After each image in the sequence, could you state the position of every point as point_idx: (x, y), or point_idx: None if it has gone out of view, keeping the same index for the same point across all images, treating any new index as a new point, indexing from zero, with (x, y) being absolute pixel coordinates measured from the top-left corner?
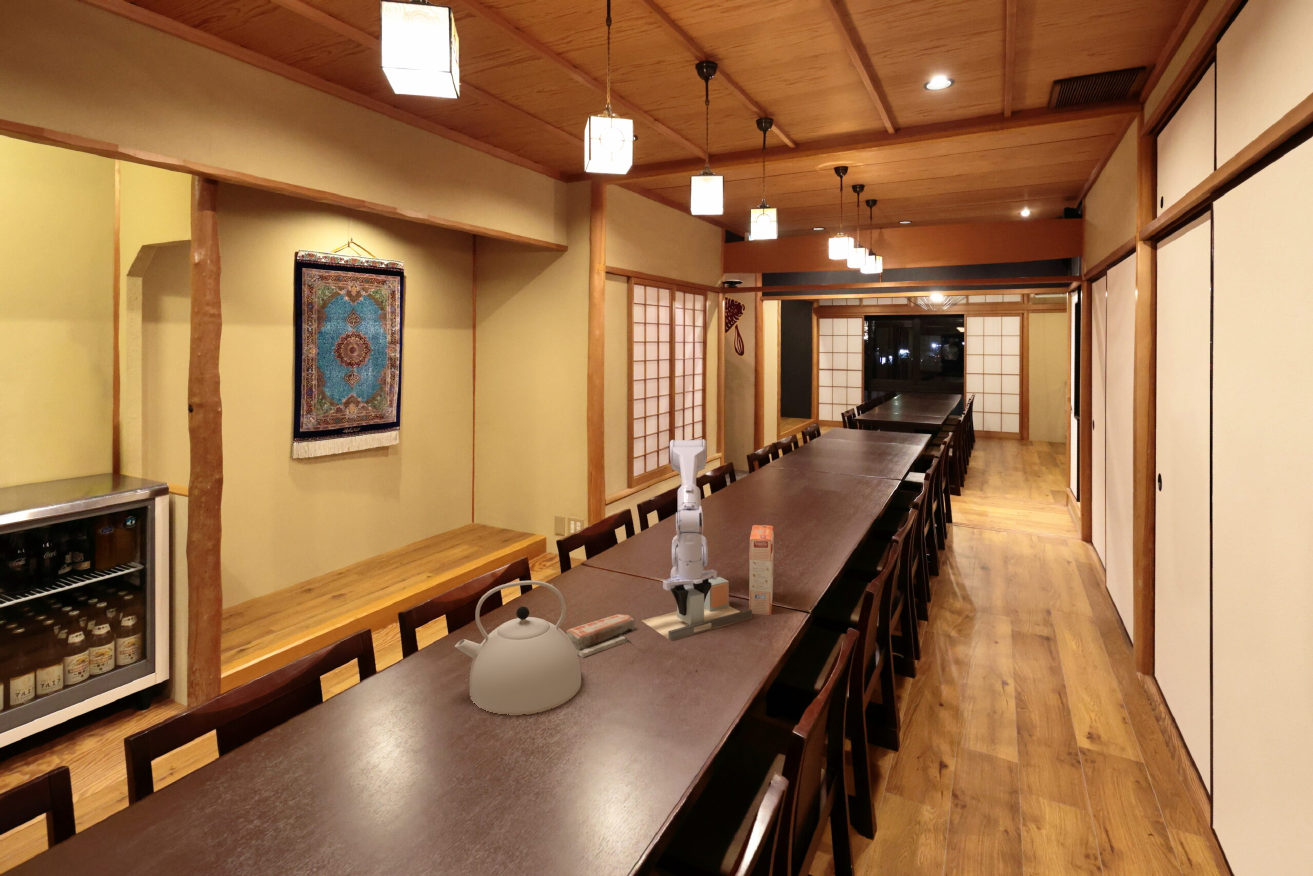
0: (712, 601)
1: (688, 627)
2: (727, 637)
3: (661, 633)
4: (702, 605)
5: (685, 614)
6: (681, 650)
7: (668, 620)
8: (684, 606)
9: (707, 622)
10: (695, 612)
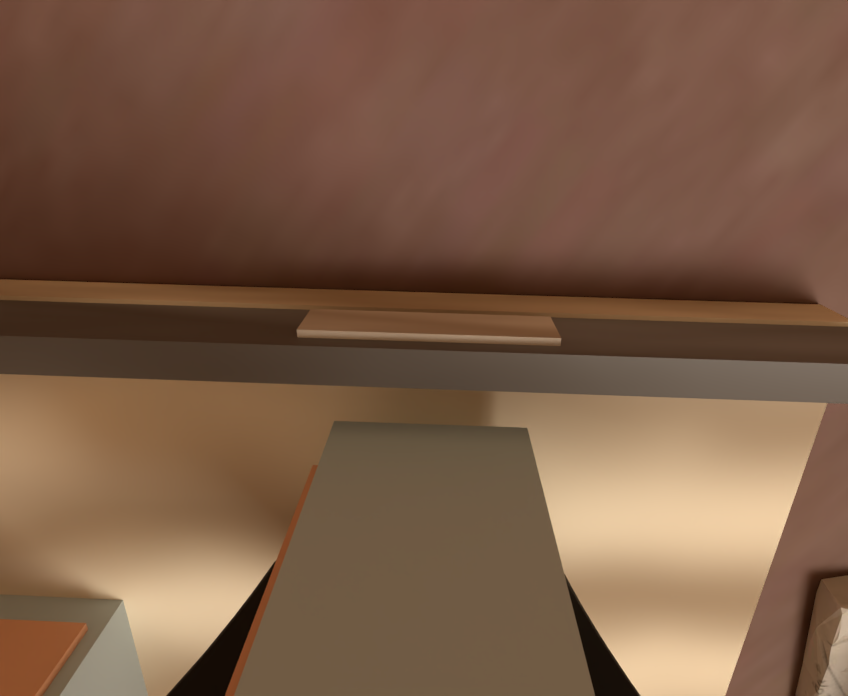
0: (33, 684)
1: (644, 356)
2: (216, 123)
3: (786, 496)
4: (311, 577)
5: None
6: (831, 145)
7: None
8: (607, 677)
9: (347, 344)
10: (459, 518)
